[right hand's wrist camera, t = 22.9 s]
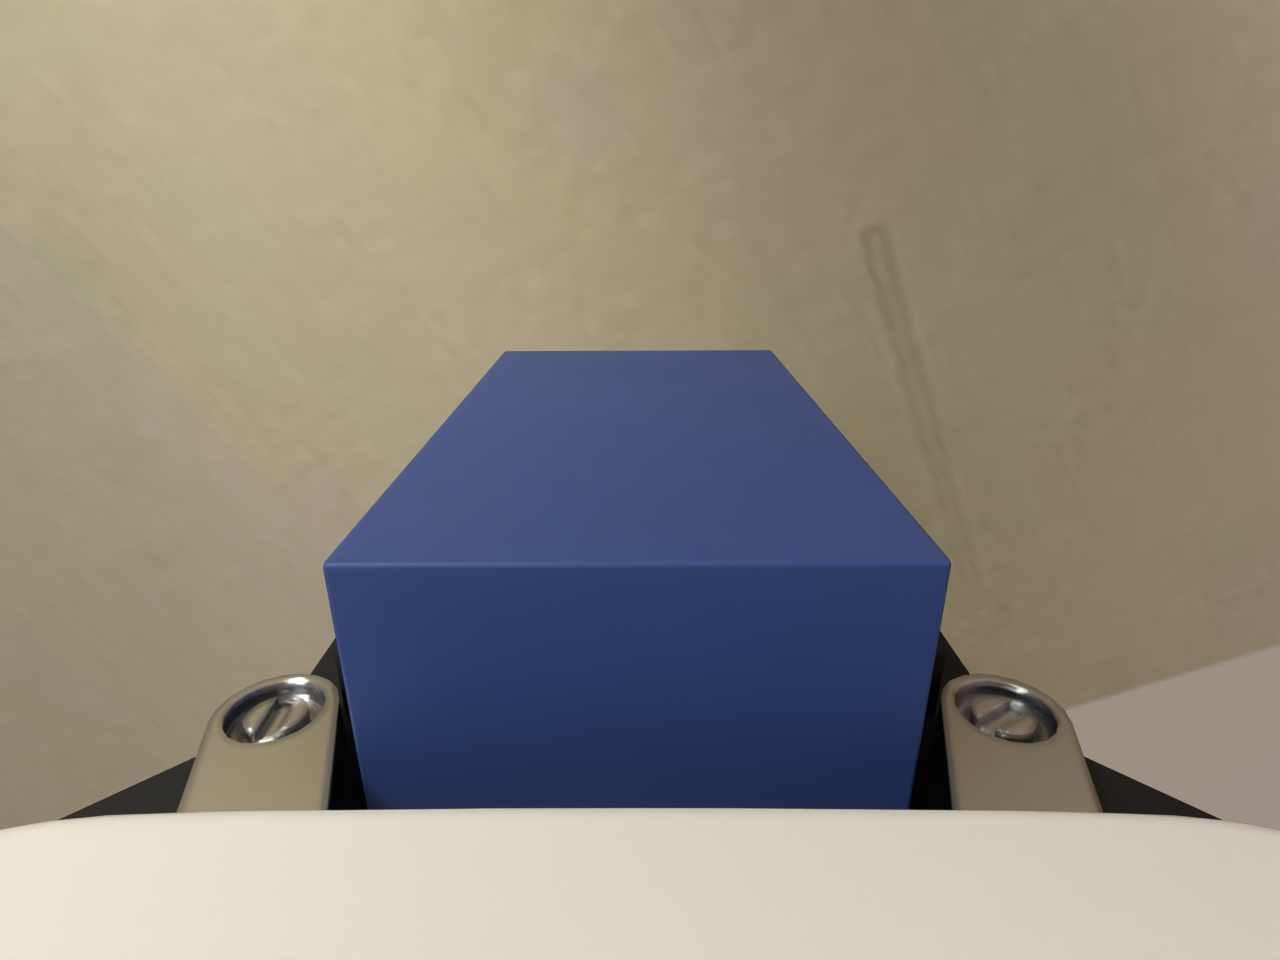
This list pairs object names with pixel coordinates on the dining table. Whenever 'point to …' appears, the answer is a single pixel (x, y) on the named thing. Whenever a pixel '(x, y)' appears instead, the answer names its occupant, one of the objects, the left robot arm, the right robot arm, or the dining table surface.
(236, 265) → the dining table surface
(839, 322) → the dining table surface
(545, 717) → the brick
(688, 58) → the dining table surface
